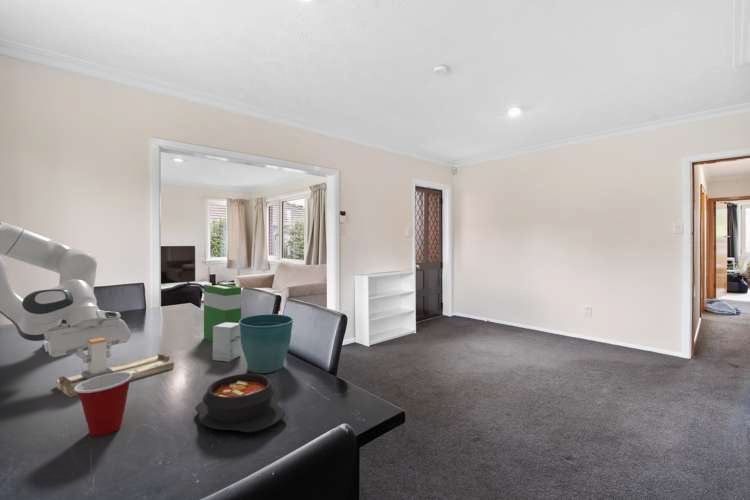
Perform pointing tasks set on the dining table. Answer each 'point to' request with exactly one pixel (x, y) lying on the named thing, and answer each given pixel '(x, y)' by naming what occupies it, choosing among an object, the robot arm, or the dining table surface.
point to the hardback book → (220, 306)
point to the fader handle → (96, 359)
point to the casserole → (240, 404)
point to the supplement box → (226, 341)
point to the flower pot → (265, 341)
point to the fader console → (134, 367)
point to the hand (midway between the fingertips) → (97, 359)
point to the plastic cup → (104, 401)
